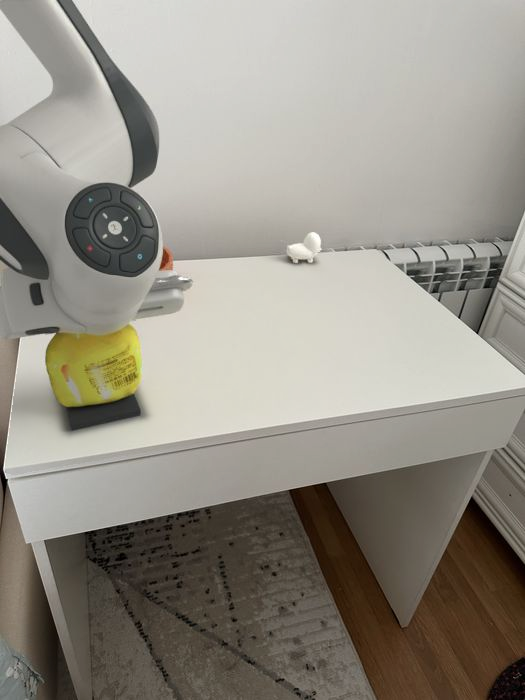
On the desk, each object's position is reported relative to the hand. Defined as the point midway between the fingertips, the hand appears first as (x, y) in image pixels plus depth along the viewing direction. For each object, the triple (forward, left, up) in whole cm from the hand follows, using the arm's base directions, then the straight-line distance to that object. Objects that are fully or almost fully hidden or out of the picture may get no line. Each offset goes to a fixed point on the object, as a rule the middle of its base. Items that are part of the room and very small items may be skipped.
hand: (90, 321), depth 66 cm
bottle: (0, 0, -12) cm, 12 cm away
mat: (0, 0, -13) cm, 13 cm away
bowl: (+11, +32, -13) cm, 36 cm away
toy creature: (+49, +32, -13) cm, 60 cm away
